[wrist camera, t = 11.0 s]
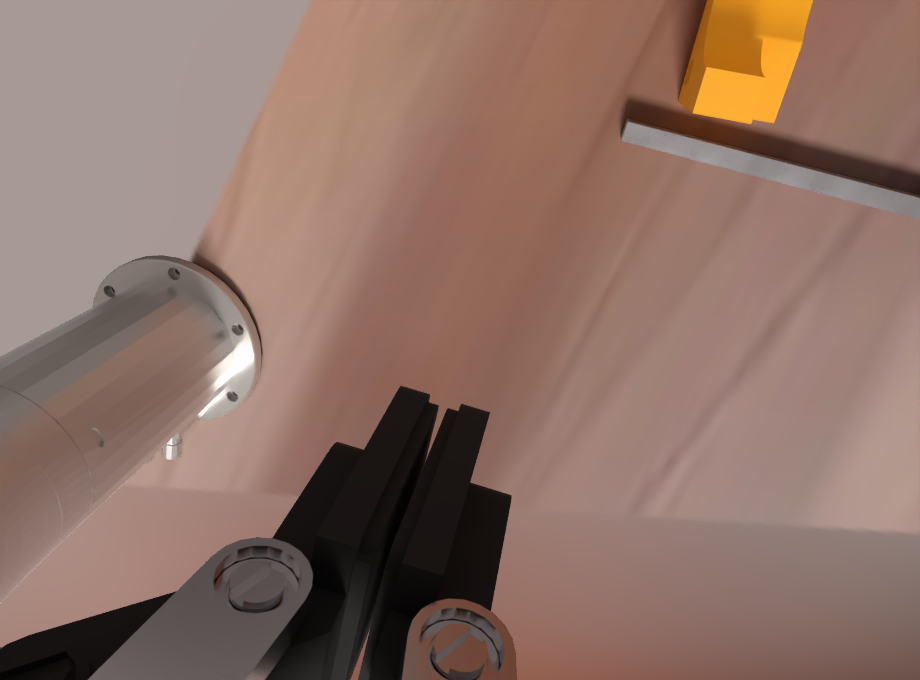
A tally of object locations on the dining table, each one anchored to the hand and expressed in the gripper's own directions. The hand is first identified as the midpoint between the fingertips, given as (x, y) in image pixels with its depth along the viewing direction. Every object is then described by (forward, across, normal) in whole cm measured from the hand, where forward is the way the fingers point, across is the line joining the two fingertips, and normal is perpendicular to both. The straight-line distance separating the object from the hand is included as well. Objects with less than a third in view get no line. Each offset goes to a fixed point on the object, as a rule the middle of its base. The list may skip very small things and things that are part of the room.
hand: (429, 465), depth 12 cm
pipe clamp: (+30, -8, -12) cm, 33 cm away
